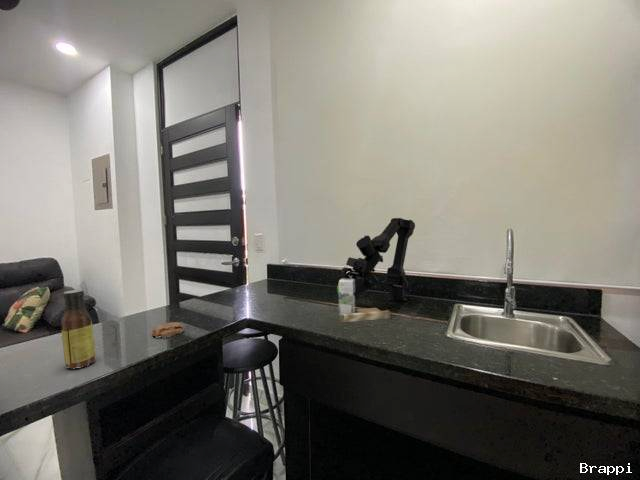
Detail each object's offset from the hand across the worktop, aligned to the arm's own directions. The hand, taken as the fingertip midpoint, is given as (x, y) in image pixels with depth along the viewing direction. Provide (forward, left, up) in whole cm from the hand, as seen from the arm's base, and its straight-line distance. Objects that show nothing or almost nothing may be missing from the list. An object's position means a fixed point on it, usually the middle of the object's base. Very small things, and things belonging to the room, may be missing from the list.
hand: (347, 292), depth 114 cm
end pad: (-10, +2, -9) cm, 14 cm away
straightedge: (-4, +7, -9) cm, 12 cm away
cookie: (+64, -11, -10) cm, 66 cm away
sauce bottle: (+84, +4, -9) cm, 85 cm away
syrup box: (0, 0, -9) cm, 9 cm away
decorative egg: (-13, -24, -9) cm, 29 cm away
